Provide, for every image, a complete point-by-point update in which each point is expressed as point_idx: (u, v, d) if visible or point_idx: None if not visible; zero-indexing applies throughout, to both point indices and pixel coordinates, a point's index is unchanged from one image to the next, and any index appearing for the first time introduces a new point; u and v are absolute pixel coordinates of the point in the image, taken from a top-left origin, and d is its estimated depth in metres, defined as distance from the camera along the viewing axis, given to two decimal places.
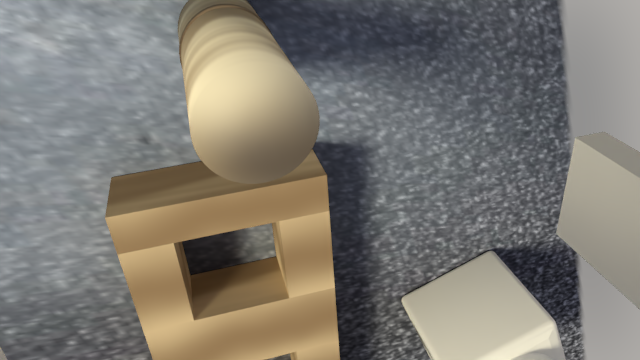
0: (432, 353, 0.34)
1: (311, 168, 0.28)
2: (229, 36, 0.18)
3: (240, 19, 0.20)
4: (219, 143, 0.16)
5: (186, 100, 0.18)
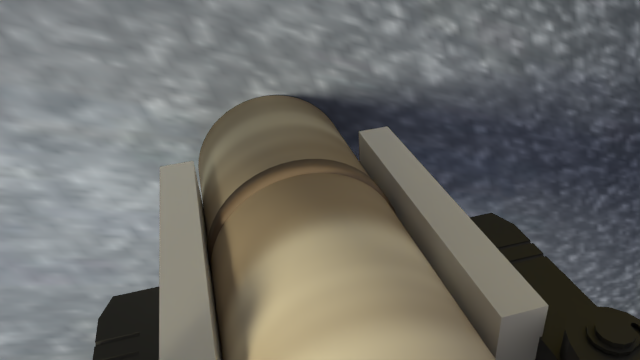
0: None
1: None
2: (369, 358, 0.06)
3: (361, 235, 0.08)
4: None
5: None
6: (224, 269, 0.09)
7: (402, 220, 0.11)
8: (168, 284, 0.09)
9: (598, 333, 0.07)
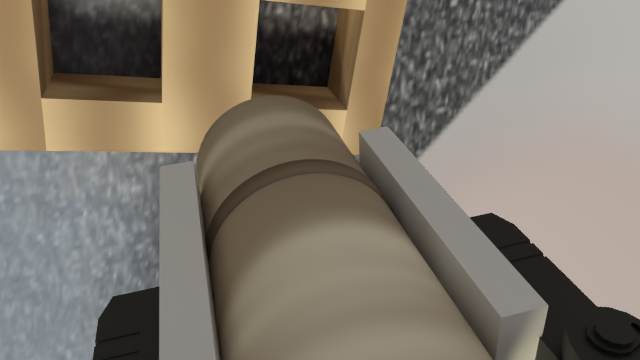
0: None
1: None
2: None
3: (358, 235, 0.08)
4: None
5: None
6: (222, 270, 0.09)
7: (402, 220, 0.11)
8: (168, 284, 0.09)
9: (598, 333, 0.07)
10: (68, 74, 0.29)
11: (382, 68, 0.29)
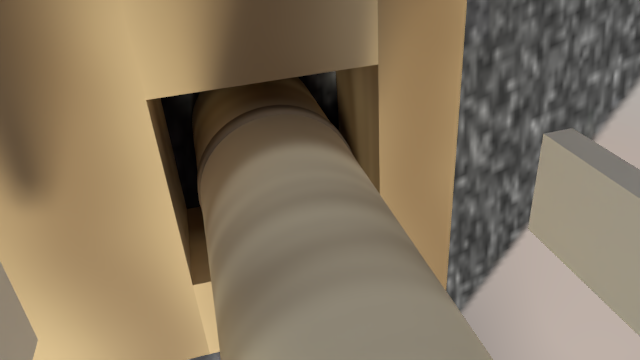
0: None
1: None
2: (309, 221, 0.09)
3: (313, 153, 0.11)
4: None
5: (220, 353, 0.09)
6: (209, 186, 0.12)
7: (627, 229, 0.10)
8: None
9: None
10: None
11: (435, 159, 0.15)
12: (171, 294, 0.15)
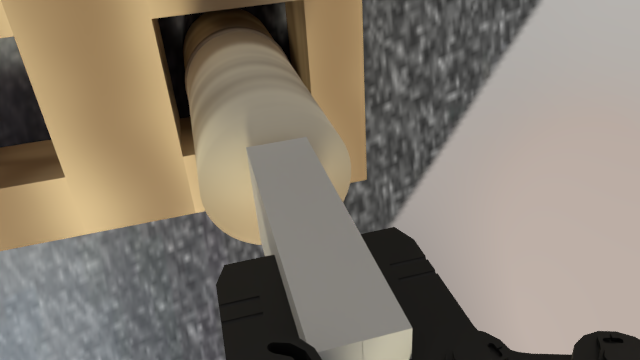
0: None
1: None
2: (244, 70, 0.15)
3: (255, 47, 0.18)
4: (233, 200, 0.14)
5: (194, 144, 0.15)
6: (191, 73, 0.19)
7: None
8: (286, 251, 0.09)
9: None
10: None
11: (349, 70, 0.21)
12: (168, 163, 0.21)
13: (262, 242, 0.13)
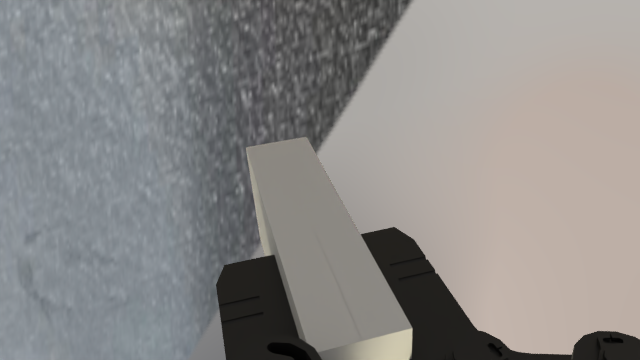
0: None
1: None
2: None
3: None
4: None
5: None
6: None
7: None
8: (286, 251, 0.09)
9: None
10: None
11: None
12: None
13: (262, 242, 0.13)
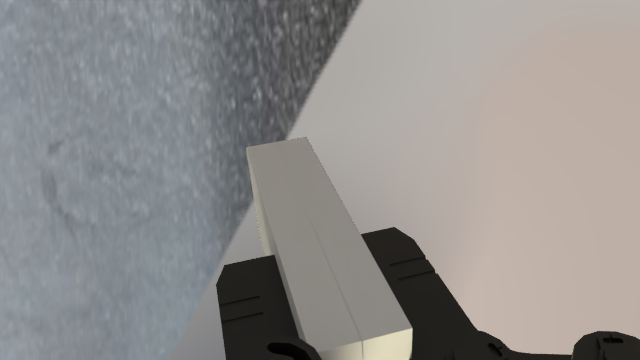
0: None
1: None
2: None
3: None
4: None
5: None
6: None
7: None
8: (286, 251, 0.09)
9: None
10: None
11: None
12: None
13: (262, 242, 0.13)
